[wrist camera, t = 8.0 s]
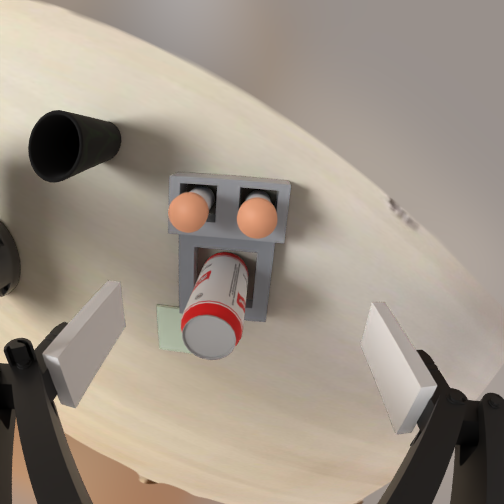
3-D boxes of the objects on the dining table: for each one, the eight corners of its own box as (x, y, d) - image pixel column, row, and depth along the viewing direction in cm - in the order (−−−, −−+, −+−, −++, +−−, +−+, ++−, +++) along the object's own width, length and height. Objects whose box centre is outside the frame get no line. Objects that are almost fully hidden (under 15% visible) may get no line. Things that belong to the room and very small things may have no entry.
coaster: (160, 346, 49) (159, 349, 49) (157, 304, 46) (156, 306, 46) (209, 353, 49) (208, 355, 49) (210, 310, 46) (209, 312, 46)
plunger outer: (240, 217, 40) (235, 236, 33) (243, 185, 39) (238, 197, 31) (272, 220, 40) (275, 240, 33) (275, 188, 39) (279, 201, 31)
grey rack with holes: (176, 303, 46) (169, 317, 42) (178, 172, 40) (169, 175, 36) (272, 313, 46) (272, 328, 42) (288, 180, 40) (290, 185, 36)
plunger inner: (185, 212, 40) (168, 231, 33) (186, 181, 39) (168, 192, 31) (216, 215, 40) (206, 234, 33) (218, 183, 39) (207, 195, 31)
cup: (138, 129, 38) (94, 129, 27) (112, 178, 40) (64, 195, 29) (96, 104, 37) (44, 99, 25) (72, 153, 39) (19, 162, 28)
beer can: (198, 284, 45) (170, 353, 30) (209, 243, 43) (182, 301, 28) (241, 296, 45) (232, 371, 30) (254, 257, 43) (250, 321, 28)
